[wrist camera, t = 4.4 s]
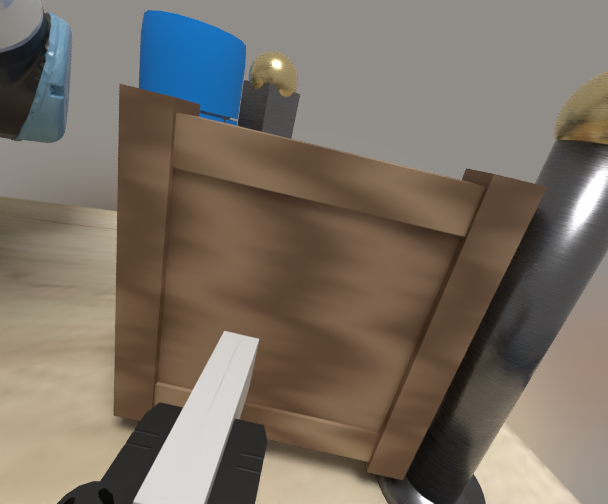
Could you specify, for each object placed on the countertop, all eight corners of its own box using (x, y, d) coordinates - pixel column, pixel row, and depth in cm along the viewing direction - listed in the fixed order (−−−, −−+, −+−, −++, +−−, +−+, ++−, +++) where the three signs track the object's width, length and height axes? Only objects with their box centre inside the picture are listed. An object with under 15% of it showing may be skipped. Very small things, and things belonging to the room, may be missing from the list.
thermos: (211, 232, 50) (234, 53, 41) (227, 261, 41) (260, 43, 33) (133, 227, 44) (140, 21, 36) (133, 259, 36) (143, -1, 27)
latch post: (276, 321, 31) (334, 67, 23) (224, 341, 26) (274, 35, 19) (241, 293, 34) (281, 64, 27) (189, 306, 30) (219, 36, 22)
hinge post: (356, 451, 19) (519, 44, 12) (423, 428, 22) (587, 89, 15) (429, 570, 15) (781, 11, 7) (502, 520, 18) (807, 87, 10)
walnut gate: (393, 440, 19) (510, 179, 14) (402, 480, 17) (547, 187, 11) (138, 382, 19) (154, 93, 13) (113, 415, 17) (119, 83, 11)
